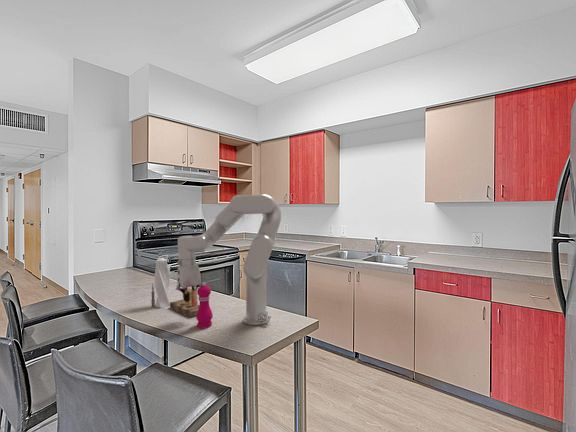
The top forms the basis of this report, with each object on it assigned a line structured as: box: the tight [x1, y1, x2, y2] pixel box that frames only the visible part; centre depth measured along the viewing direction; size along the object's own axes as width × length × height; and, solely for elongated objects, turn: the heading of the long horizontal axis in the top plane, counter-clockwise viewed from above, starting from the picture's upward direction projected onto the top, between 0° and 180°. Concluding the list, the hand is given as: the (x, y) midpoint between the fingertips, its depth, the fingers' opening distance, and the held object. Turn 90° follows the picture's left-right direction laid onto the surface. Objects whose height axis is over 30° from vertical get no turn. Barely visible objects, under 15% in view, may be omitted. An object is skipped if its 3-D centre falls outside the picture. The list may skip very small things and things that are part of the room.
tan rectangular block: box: [182, 287, 199, 306], centre depth 146 cm, size 8×3×7 cm, turn 48°
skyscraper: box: [150, 254, 171, 310], centre depth 168 cm, size 8×8×28 cm
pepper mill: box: [195, 282, 213, 329], centre depth 140 cm, size 7×7×20 cm
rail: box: [169, 298, 200, 319], centre depth 160 cm, size 22×8×3 cm, turn 48°
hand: (190, 300), depth 146 cm, fingers closed on tan rectangular block, 3 cm apart
